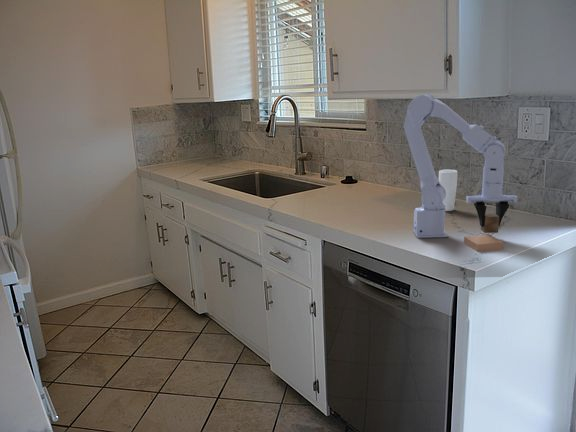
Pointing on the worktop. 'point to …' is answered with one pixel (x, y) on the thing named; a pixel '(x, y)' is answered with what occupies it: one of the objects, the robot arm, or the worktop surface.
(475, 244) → the terracotta tile
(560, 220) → the worktop surface
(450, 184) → the drinking glass
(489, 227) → the walnut block
